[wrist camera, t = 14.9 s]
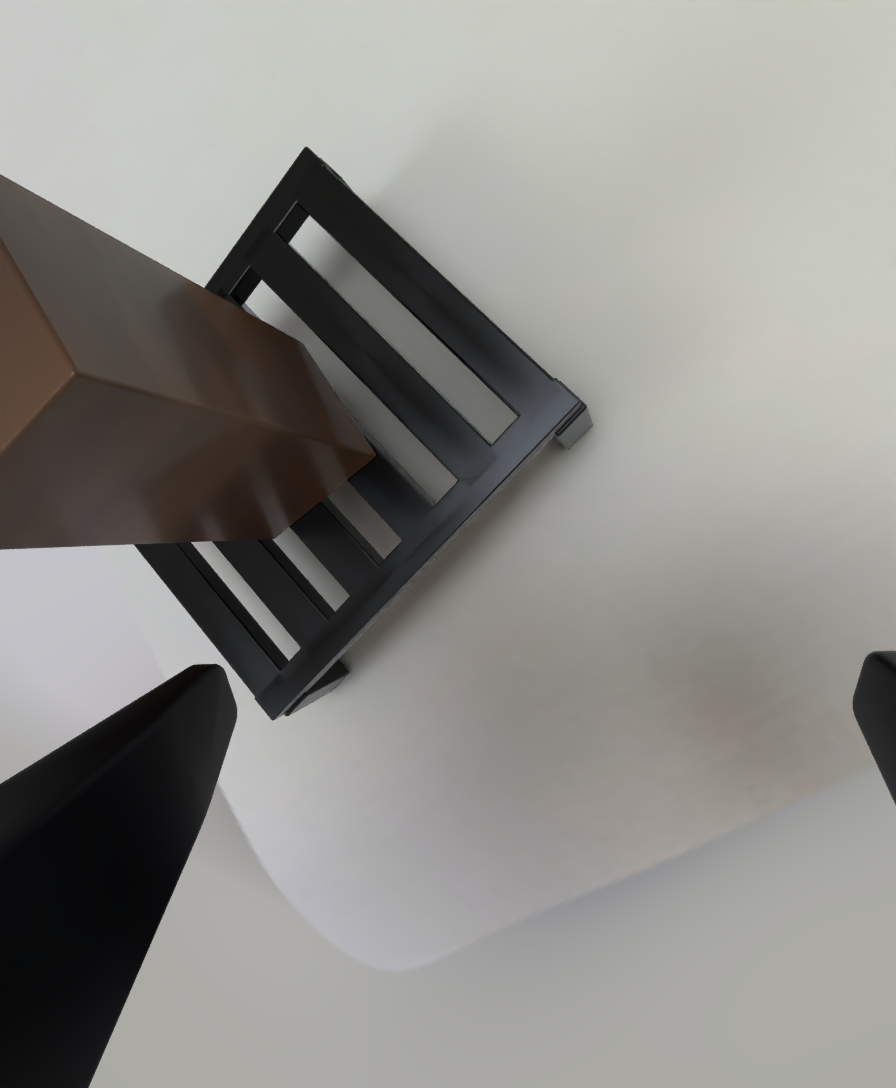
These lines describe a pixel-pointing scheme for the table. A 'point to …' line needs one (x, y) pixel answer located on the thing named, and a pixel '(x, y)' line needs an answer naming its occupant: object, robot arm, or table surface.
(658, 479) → the table surface
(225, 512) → the walnut block
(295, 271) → the rack
